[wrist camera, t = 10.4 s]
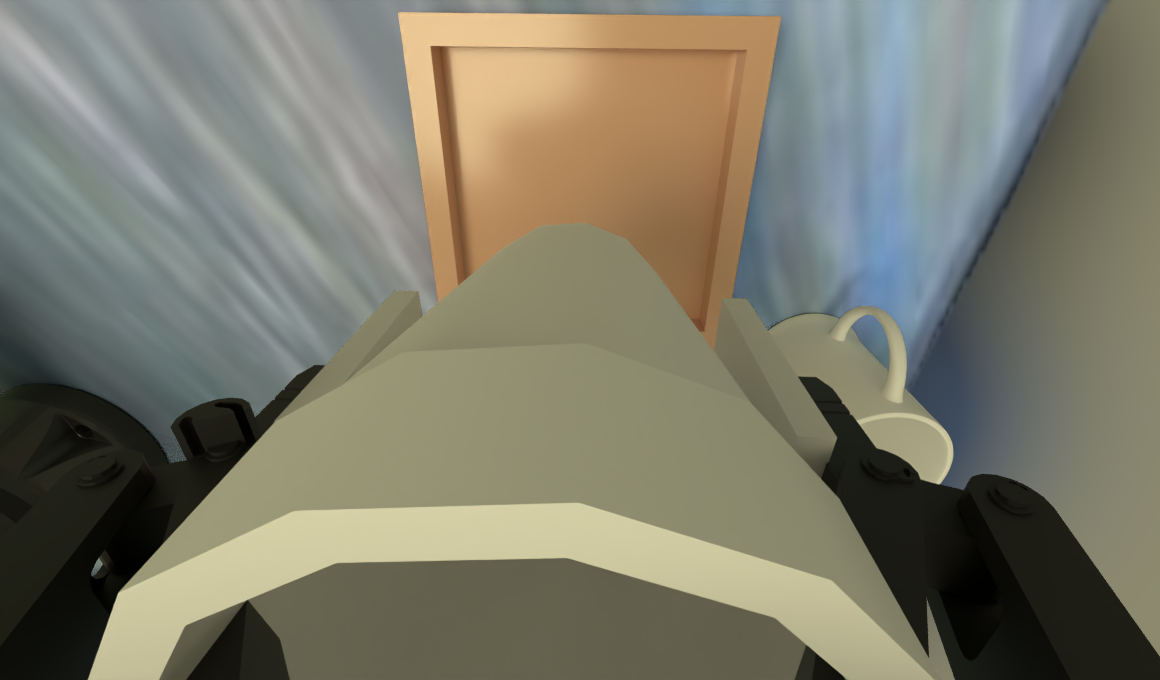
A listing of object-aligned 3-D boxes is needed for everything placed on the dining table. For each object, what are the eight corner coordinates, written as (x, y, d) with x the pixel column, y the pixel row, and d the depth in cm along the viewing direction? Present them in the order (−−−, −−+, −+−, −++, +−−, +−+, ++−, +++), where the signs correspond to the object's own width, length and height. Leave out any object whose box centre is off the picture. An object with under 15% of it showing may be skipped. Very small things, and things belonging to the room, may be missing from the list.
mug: (787, 261, 35) (870, 344, 24) (900, 284, 36) (1028, 374, 25) (732, 395, 41) (779, 509, 30) (830, 413, 41) (910, 531, 31)
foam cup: (632, 110, 14) (779, 284, 3) (749, 354, 18) (1019, 863, 6) (380, 265, 17) (-99, 694, 5) (529, 450, 20) (440, 937, 9)
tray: (714, 331, 38) (722, 350, 35) (454, 325, 38) (444, 344, 36) (763, 21, 28) (781, 16, 26) (416, 17, 29) (398, 12, 26)
